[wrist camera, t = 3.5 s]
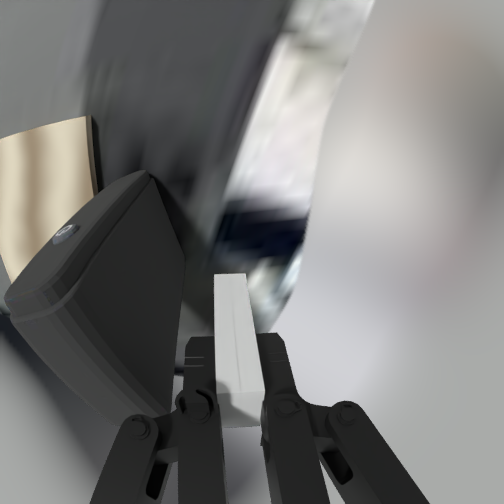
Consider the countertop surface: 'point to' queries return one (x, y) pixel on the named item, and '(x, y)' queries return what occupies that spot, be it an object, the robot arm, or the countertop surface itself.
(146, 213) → the card reader
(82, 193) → the birch board
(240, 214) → the countertop surface
